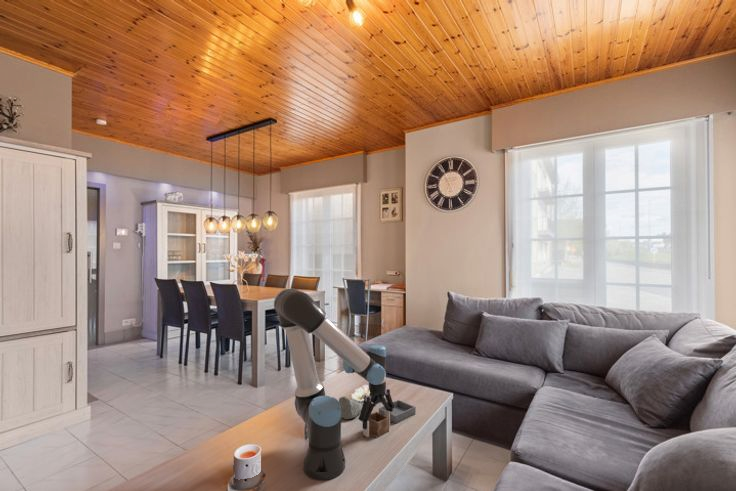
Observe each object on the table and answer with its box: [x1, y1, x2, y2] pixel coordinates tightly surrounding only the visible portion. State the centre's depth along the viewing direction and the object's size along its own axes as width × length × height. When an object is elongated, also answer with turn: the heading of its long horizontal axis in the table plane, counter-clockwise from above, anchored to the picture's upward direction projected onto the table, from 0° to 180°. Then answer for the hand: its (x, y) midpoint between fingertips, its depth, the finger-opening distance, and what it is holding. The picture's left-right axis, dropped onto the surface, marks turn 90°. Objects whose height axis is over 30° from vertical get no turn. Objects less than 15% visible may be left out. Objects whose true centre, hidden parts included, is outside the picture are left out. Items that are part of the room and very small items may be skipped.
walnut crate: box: [365, 411, 390, 438], centre depth 151 cm, size 7×8×6 cm
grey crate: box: [378, 399, 417, 425], centre depth 166 cm, size 14×11×4 cm
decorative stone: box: [338, 396, 363, 420], centre depth 165 cm, size 13×11×10 cm
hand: (377, 430), depth 151 cm, fingers open, 12 cm apart
